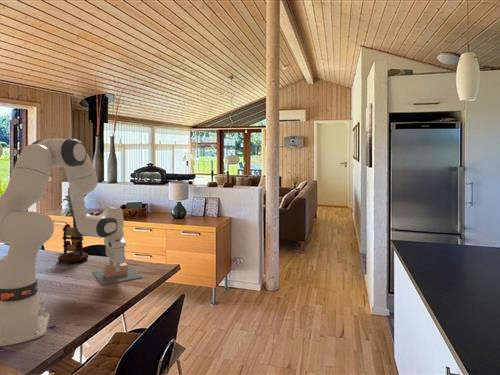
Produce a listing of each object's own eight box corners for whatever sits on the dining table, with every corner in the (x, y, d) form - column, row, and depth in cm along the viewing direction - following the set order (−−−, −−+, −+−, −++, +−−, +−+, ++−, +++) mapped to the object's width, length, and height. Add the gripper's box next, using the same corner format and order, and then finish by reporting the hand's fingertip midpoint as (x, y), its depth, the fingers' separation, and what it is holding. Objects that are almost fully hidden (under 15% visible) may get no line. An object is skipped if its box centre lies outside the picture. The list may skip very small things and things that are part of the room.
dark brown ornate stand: (93, 257, 200) (93, 222, 198) (77, 265, 185) (76, 227, 183) (69, 256, 202) (68, 221, 200) (51, 263, 187) (50, 226, 185)
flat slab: (142, 278, 168) (142, 277, 168) (101, 285, 158) (101, 284, 158) (129, 266, 185) (129, 265, 185) (92, 272, 174) (92, 271, 174)
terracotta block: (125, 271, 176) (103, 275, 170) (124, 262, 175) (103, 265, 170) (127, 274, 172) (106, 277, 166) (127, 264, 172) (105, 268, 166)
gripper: (102, 236, 176) (102, 263, 177) (112, 245, 159) (113, 275, 160) (115, 235, 179) (115, 261, 181) (126, 243, 163) (127, 273, 164)
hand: (114, 268), depth 170 cm, fingers open, 8 cm apart
